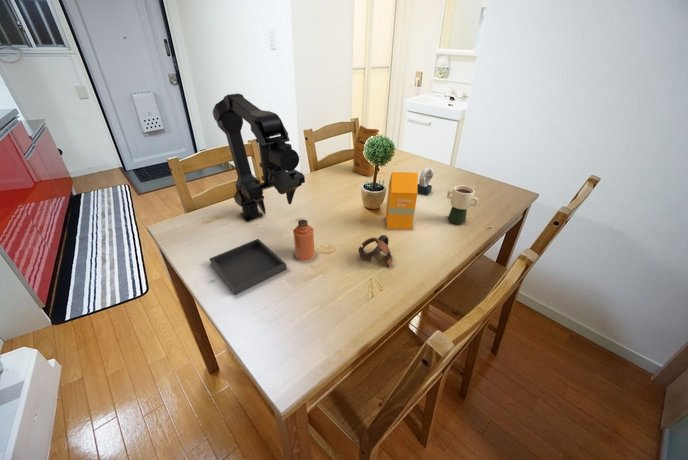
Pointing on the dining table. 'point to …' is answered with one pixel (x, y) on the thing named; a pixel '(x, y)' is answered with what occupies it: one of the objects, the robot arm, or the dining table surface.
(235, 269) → the tray
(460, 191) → the character mug
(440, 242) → the dining table surface
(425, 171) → the stone sculpture
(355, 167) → the coffee package
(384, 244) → the brown looped piece
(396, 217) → the orange juice
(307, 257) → the bottle
